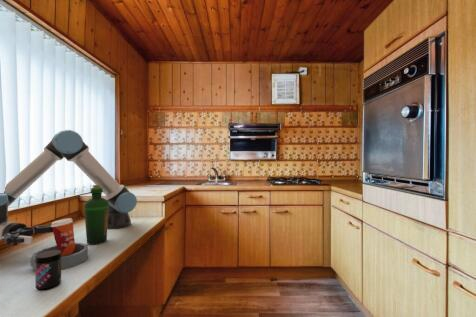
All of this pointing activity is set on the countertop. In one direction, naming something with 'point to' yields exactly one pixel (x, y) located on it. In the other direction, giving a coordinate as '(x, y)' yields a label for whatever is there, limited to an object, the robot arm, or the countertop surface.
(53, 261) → the supplement container
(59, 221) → the paper cup
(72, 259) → the bowl
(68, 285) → the countertop surface
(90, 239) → the bottle
